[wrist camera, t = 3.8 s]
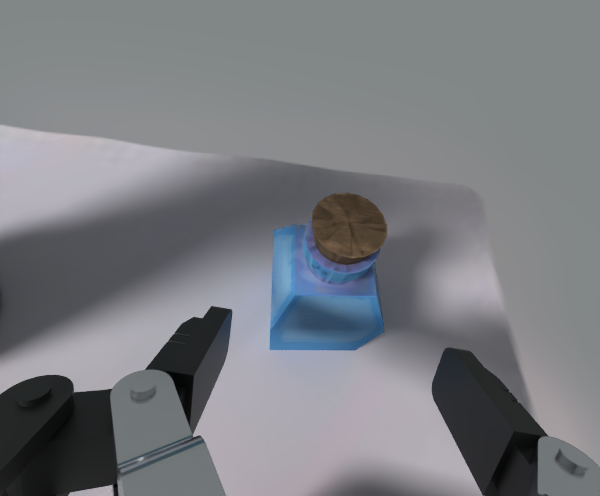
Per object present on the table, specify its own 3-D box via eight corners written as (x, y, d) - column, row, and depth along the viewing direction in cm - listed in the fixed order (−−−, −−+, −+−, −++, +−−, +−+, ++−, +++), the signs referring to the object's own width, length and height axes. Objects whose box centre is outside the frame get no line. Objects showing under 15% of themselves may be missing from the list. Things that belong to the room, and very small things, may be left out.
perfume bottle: (269, 349, 21) (271, 293, 10) (272, 269, 24) (276, 162, 13) (354, 350, 22) (438, 297, 11) (347, 272, 24) (408, 170, 14)
